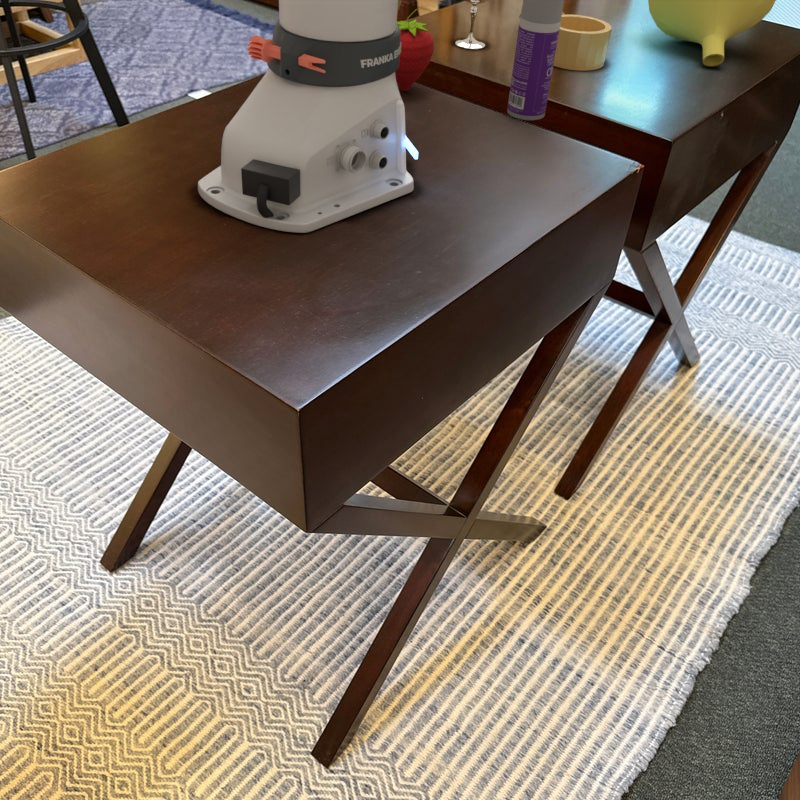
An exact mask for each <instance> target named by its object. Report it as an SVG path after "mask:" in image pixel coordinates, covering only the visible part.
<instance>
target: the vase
mask: <svg viewBox="0 0 800 800" xmlns="http://www.w3.org/2000/svg"><path fill="white" fill-rule="evenodd" d="M776 1H777V0H647V2H648V3H647V4H648V12H649V14H650V16H651V19H652V20H653V22H654V23H655V26H656V27H657V28H658V29H659V30H660V31H661V32H662V33H664V34H665V35H667V36H669V37H670V38H671V37H672V38H673V39H676V40H680V41H685V42H690V43H695V44H699V45H701V47H702V48H701V49H702V64H703V65H704V66H705V67H717V66H719V65H721V64H723V62H724V61H725V43H726V41H728V40H729V39H731V38H733V37H735V36H737V35H739V34H741V33H744V32H745V31H748V30H750V29H751V28H753V27H754V26H755V25H757V24H759V23H760V22H761V21H763V19H764V18H765V17H766V16H767V15H768V14H769V13H770V12H771V11H772V9H773V7H774V5H775V3H776Z"/></svg>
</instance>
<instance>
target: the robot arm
mask: <svg viewBox="0 0 800 800" xmlns="http://www.w3.org/2000/svg"><path fill="white" fill-rule="evenodd" d="M397 10H398V0H278V15H279V16H278V17H279V18H278V19H277V21H276V22H275V25H274V29H273V33H272V37H271V39H266V38H264V37H262V36H259V35H252V36H251V38H249V42H248V43H247V51H248V52H247V54H248V56H249V58H251V59H253V60H258V61H260V60H261V61H263V62H264V63H266V64H267V67H268V68H267V71H266V72H265V73H264V75H263V77H262V78H261V79H260V81H258V83H257V85H256V86H255V87H254V88H253V90H252V91H251V93H250V94H249V95H248V97H247V98H246V100H245V101H244V102H243V103H244V104H243V103H242V104H243V105H242V104H241V106H242V107H241V106H240V107H239V109H238V111H237V112H236V113H235V115H234V116H233V117H232V118H231V120H230V121H229V122H228V124H227V125H226V126H225V128H224V131H223V135H222V139H221V147H220V165H219V166H218V167H216V168H215V169H213V170H212V171H211V172H209V173H208V174H206V175H204V176H203V177H202V178H201V179H199V180H198V181H197V192H198V195H199V196H200V198H202V199H203V201H204V202H206V203H207V204H208V205H210V206H211V207H213V208H215V209H216V210H218V211H220V212H222V213H224V214H226V215H228V216H231V217H234V218H236V219H238V220H240V221H243V222H246V223H249V224H252V225H255V226H259V227H263V228H266V229H270V230H275V231H279V232H280V231H281V232H287V233H295V234H297V233H298V234H305V233H311V232H314V231H316V230H319V229H321V228H323V227H326V226H329V225H331V224H334V223H338V222H339V221H341V220H344V219H347V218H349V217H351V216H354V215H358V214H359V213H362V212H364V211H367V210H370V209H372V208H375V207H377V206H379V205H382V204H385V203H387V202H390V201H391V200H392V201H393V200H395V199H397V198H399V197H403V196H405V195H408V194H410V193H412V192H413V191H414V190H415V185H414V184H415V183H414V177H413V176H412V175H411V173H409V172H408V170H407V151H408V152H409V154H410V155H411V156H412V157H413V159H414V160H418V159H419V151H418V150H417V148H416V147H415V146H414V145H413V143H412V142H411V140H410V139H409V138H408V137H407V134H406V109H405V103H404V101H403V98H402V96H401V92H400V90H399V89H400V88H399V85H398V84H397V82H396V76H395V71H396V70H397V69H398V68H399V61H400V53H401V42H400V32H401V31H400V28H399V25H397V22H398V13H397ZM398 11H399V10H398Z"/></svg>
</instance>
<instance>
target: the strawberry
mask: <svg viewBox="0 0 800 800" xmlns="http://www.w3.org/2000/svg"><path fill="white" fill-rule="evenodd" d="M416 11H418V8H416V9H415V10H413V12H411V13H410V14H409V15H408V17H407V18H406V21H405V20H399V21H397V25H398V26H399V28H400V31H401V32H400V42H401V53H400V61H399V68H398V69H397V70H396V71H395V76H396V82H397V86H398V88H399V89H400V90H401V91H402V92H407V91H409V90H410V89H411V88H412V87H413V86H414V84H415V83H416V81H417V80H418V79H419V78H420V77H421V76H422V74H423V73H424V71H425V70H426V69H427V68H428V66H429V65H430V62H431V60H432V57H433V54H434V51H435V40H434V36H433V35H432V34H431V32H430V31H429V30H428V29H426V28H425V27H426V26H428V25H429V24H428V23H423V22H419V21H418V22H417V19H416V18H415V19H413V20H410V21H409V18H410V17H411V16H412V15H413V14H414V13H415V12H416Z"/></svg>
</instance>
